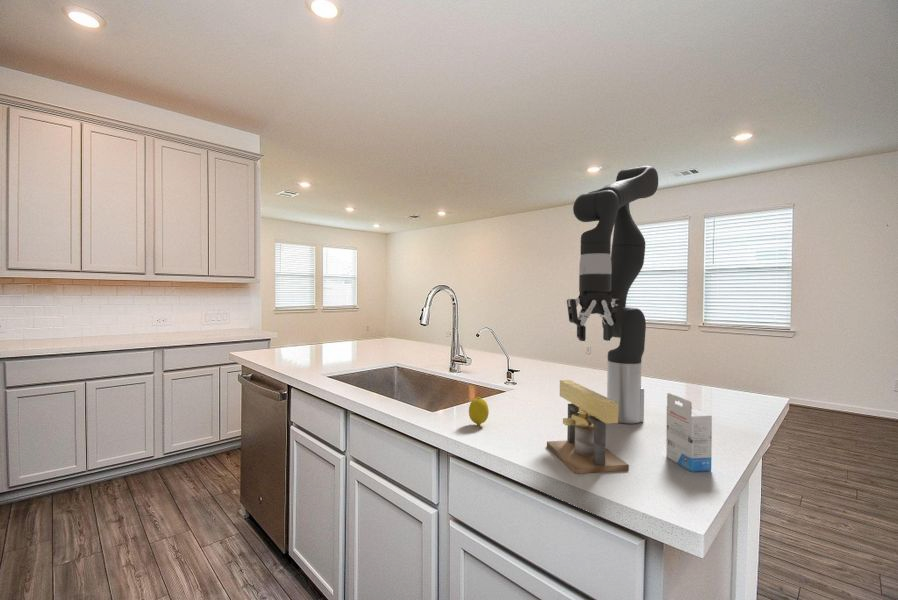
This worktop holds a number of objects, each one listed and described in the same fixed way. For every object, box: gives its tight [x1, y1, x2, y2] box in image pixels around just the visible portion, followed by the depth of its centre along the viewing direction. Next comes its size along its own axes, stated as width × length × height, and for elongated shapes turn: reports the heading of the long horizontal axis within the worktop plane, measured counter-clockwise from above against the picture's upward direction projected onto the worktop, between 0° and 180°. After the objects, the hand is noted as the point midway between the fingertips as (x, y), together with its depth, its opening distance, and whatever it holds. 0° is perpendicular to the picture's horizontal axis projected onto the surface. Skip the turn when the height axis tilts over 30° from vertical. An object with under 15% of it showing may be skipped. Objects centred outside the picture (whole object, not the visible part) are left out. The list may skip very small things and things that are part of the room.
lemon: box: [468, 396, 490, 426], centre depth 113 cm, size 6×6×8 cm
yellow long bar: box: [559, 379, 619, 429], centre depth 91 cm, size 10×22×8 cm, turn 8°
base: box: [546, 403, 630, 475], centre depth 91 cm, size 12×15×10 cm
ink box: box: [665, 392, 713, 472], centre depth 88 cm, size 9×5×15 cm, turn 5°
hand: (594, 340), depth 100 cm, fingers open, 6 cm apart
